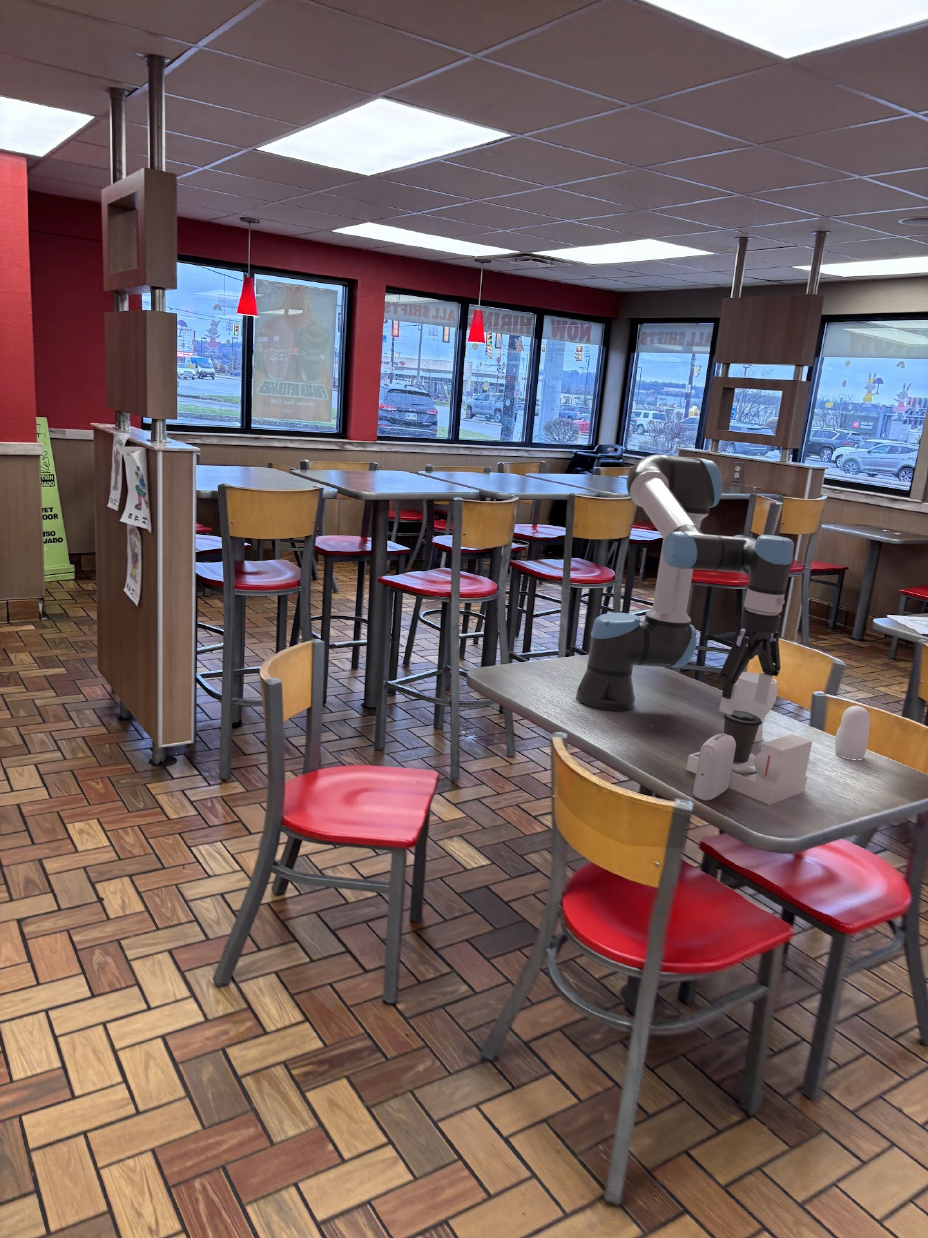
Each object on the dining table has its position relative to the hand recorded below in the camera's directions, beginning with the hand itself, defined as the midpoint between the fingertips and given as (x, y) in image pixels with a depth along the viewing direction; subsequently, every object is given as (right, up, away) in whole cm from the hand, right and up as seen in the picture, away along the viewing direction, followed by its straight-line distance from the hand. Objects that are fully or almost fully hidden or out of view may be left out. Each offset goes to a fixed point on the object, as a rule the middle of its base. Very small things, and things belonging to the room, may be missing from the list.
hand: (743, 707), depth 192 cm
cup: (+10, -10, +30) cm, 33 cm away
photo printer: (-9, -17, -8) cm, 21 cm away
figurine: (+33, -14, +24) cm, 43 cm away
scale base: (0, -16, +1) cm, 16 cm away
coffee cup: (-1, -11, +2) cm, 11 cm away
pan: (-1, -14, +3) cm, 14 cm away
